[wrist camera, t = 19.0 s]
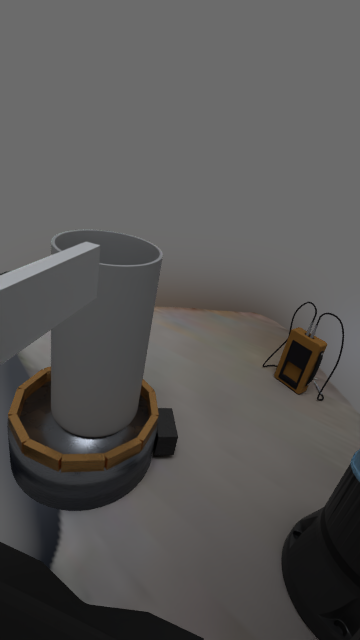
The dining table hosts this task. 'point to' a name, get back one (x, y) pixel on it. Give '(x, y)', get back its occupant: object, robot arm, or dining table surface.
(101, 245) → the cylinder vase
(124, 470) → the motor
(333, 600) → the robot arm
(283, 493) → the dining table surface
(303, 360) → the multimeter
